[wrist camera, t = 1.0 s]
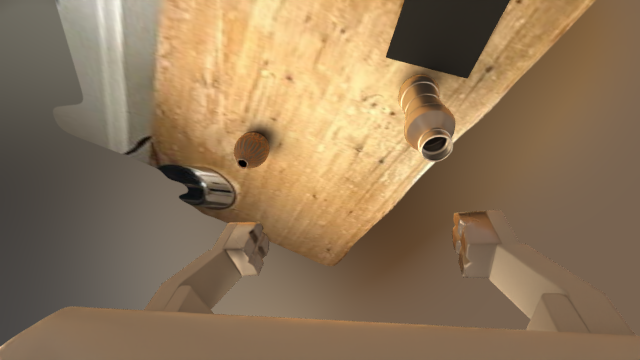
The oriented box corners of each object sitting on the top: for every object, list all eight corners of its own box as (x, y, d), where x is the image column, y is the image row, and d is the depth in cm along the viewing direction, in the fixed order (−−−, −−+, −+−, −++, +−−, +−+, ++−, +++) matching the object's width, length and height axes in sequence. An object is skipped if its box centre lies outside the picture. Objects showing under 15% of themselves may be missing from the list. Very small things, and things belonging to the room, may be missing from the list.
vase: (266, 160, 62) (252, 183, 55) (238, 145, 61) (221, 167, 54) (277, 137, 58) (264, 159, 51) (248, 121, 57) (230, 142, 50)
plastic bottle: (444, 82, 46) (481, 139, 30) (418, 114, 50) (438, 179, 34) (413, 63, 45) (434, 112, 29) (389, 98, 49) (396, 157, 33)
